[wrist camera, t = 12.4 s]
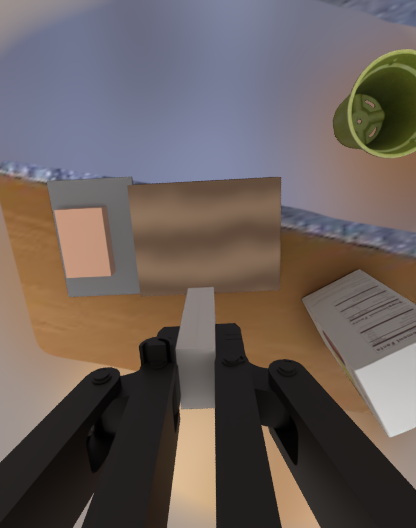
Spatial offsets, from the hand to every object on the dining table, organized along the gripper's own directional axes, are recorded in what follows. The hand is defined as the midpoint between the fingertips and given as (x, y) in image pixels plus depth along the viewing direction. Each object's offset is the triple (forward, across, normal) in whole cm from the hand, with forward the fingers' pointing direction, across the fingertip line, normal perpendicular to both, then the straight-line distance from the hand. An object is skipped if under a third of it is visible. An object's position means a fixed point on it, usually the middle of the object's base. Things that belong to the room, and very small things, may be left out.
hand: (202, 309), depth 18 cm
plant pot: (+25, -19, -13) cm, 34 cm away
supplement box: (+25, -19, +12) cm, 33 cm away
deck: (+24, 0, 0) cm, 24 cm away
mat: (+24, +15, 0) cm, 29 cm away
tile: (+22, +16, 0) cm, 27 cm away
